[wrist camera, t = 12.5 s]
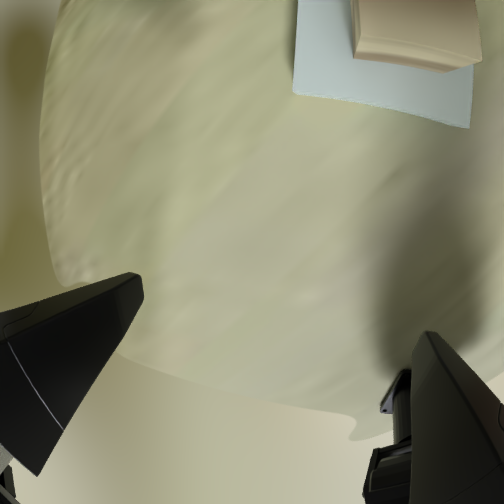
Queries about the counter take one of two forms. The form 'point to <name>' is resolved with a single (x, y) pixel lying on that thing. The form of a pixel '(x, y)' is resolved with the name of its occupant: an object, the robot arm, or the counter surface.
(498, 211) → the counter surface
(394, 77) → the blue-grey slab
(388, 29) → the birch cube
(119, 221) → the counter surface
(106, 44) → the counter surface
